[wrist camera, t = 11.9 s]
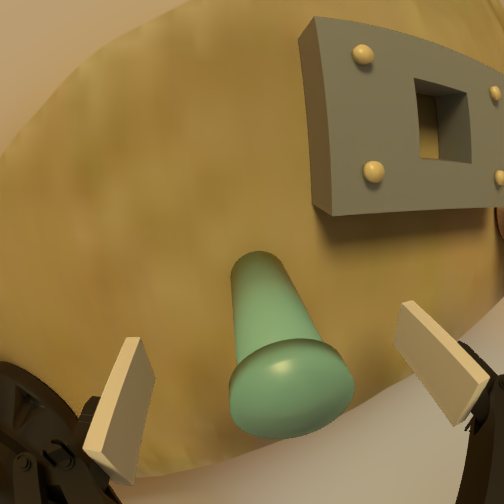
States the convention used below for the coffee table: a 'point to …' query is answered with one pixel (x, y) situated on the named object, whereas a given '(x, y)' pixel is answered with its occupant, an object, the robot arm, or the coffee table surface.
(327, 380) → the plug
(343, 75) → the grey socket block
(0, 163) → the coffee table surface
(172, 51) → the coffee table surface
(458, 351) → the robot arm
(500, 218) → the planter
